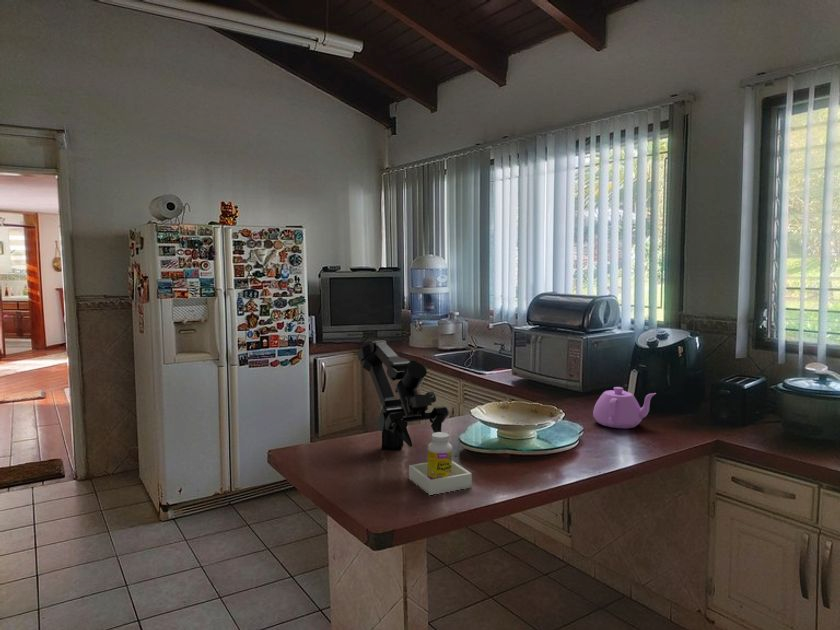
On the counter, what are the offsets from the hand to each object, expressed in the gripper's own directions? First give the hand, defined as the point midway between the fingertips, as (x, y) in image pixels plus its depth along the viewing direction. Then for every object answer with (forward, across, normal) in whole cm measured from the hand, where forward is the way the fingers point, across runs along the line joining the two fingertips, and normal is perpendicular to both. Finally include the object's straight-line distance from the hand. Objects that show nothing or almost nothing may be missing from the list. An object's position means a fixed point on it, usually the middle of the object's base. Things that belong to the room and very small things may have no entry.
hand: (425, 444), depth 165 cm
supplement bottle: (+11, 0, 0) cm, 11 cm away
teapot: (-2, +87, +14) cm, 88 cm away
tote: (+12, 0, 0) cm, 12 cm away
